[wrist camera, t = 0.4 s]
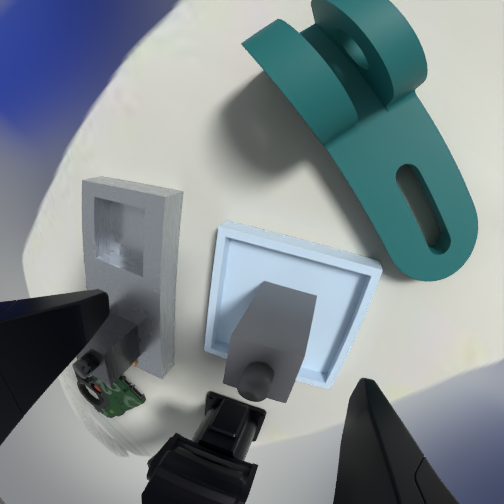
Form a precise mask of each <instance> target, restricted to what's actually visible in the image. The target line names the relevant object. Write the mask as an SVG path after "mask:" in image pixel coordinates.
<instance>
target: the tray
mask: <svg viewBox="0 0 504 504" xmlns="http://www.w3.org/2000/svg"><path fill="white" fill-rule="evenodd" d="M382 271H383V270H382V267H381V264H380V261H378V260H375V259H371V258H368V257H364V256H360V255H357V254H353V253H350V252H346V251H342V250H339V249H335V248H332V247H328V246H324V245H320V244H317V243H313V242H309V241H306V240H302V239H298V238H294V237H290V236H287V235H283V234H279V233H275V232H271V231H267V230H263V229H259V228H256V227H252V226H248V225H244V224H240V223H236V222H232V221H226V222H225V223H223V224H221V225H220V226H219V227H218V234H217V242H216V249H215V257H214V265H213V273H212V281H211V290H210V298H209V307H208V316H207V326H206V335H205V345H204V351H206V352H209V353H211V354H214V355H217V356H220V357H222V358H225V359H227V356H228V350H229V344H230V338H231V334H232V332H233V331H234V329H235V328H236V326H237V324H238V323H239V321H240V320H241V318H242V316H243V315H244V313H245V312H246V310H247V308H248V307H249V305H250V303H251V302H252V300H253V298H254V297H255V295H256V294H257V292H258V290H259V289H260V287H261V285H262V284H263V282H264V281H267V282H270V283H274V284H277V285H281V286H284V287H288V288H292V289H295V290H299V291H302V292H306V293H309V294H313V295H317V299H316V305H315V310H314V315H313V320H312V325H311V330H310V335H309V339H308V344H307V349H306V353H305V357H304V360H303V363H302V365H301V368H300V370H299V373H298V375H297V378H296V380H295V381H299V382H303V383H306V384H310V385H314V386H318V387H322V388H326V389H330V388H331V387H332V385H333V383H334V381H335V379H336V377H337V375H338V373H339V371H340V369H341V367H342V365H343V363H344V361H345V359H346V357H347V355H348V353H349V351H350V348H351V346H352V344H353V342H354V340H355V338H356V335H357V333H358V331H359V329H360V326H361V324H362V322H363V319H364V317H365V315H366V312H367V310H368V307H369V305H370V302H371V300H372V297H373V295H374V292H375V290H376V287H377V284H378V282H379V279H380V276H381V273H382Z"/></svg>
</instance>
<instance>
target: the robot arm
mask: <svg viewBox="0 0 504 504" xmlns="http://www.w3.org/2000/svg"><path fill="white" fill-rule="evenodd" d="M109 314H110V307H109V296H108V293H107V292H105V291H103V290H100V289H94V290H87V291H80V292H73V293H66V294H58V295H51V296H44V297H36V298H29V299H21V300H17V301H16V300H13V301H5V302H0V445H1V444H2V443H3V442H4V440H5V439H6V438H7V437H8V435H9V434H10V433H11V431H12V430H13V429H14V428H15V427H16V425H17V424H18V423H19V422H20V420H21V419H22V418H23V417H24V415H25V414H26V413H27V412H28V410H29V409H30V408H31V407H32V406H33V405H34V403H35V402H36V401H37V400H38V399H39V398H40V396H41V395H42V394H43V393H44V392H45V391H46V389H47V388H48V387H49V386H50V385H51V384H52V382H54V380H55V379H56V378H57V377H58V376H59V375H60V374H61V373H62V371H63V370H64V369H65V368H66V367H67V366H68V365H69V364H70V363H71V362H72V361H73V359H74V358H75V357H76V356H77V355H78V354H79V353H80V352H81V351H82V350H83V349H84V348H85V346H86V345H87V344H88V343H89V342H90V340H91V339H92V338H93V336H94V335H95V334H96V332H97V331H98V330H99V329H100V327H101V326H102V325H103V323H104V322H105V321H106V320H107V318H108V317H109ZM265 416H266V411H264V410H262V409H259V408H256V407H252V406H249V405H246V404H243V403H240V402H237V401H234V400H232V399H229V398H226V397H223V396H220V395H218V394H215V393H212V392H209V393H208V395H207V399H206V408H205V417H204V419H203V421H202V423H201V424H200V426H199V428H198V430H197V431H196V433H195V435H194V437H193V438H192V440H189V439H187V438H184V437H182V436H181V435H180V434H178V433H175V435H174V436H173V437H171V438H170V439H169V440H168V441H167V442H166V444H165V445H164V446H163V447H162V448H161V449H160V451H159V452H158V453H157V454H156V455H154V456H153V457H152V458H151V459H150V460H149V461H148V463H147V464H148V467H149V470H148V473H147V480H149V482H148V484H147V486H146V488H145V490H144V491H143V493H142V504H245V502H246V500H247V497H248V495H249V492H250V489H251V486H252V483H253V480H254V477H255V474H256V470H257V467H258V465H256V464H251V463H248V462H245V461H244V460H245V457H246V455H247V452H248V450H249V447H250V445H251V442H252V441H256V439H257V436H258V434H259V431H260V429H261V426H262V424H263V421H264V419H265ZM0 504H5V503H4V502H3V501H2V499H1V498H0ZM333 504H459V502H458V501H457V500H456V499H455V497H454V496H453V495H452V494H451V492H450V491H449V490H448V489H447V487H446V486H445V485H444V484H443V482H442V481H441V479H440V478H439V477H438V475H437V474H436V472H435V471H434V469H433V468H432V467H431V465H430V463H429V462H428V460H427V459H426V457H424V454H423V453H422V451H421V450H420V448H419V447H418V445H417V443H416V442H415V441H414V439H413V437H412V436H411V434H410V433H409V431H408V430H407V428H406V427H405V425H404V424H403V422H402V421H401V419H400V418H399V416H398V415H397V413H396V412H395V410H394V409H393V407H392V406H391V404H390V403H389V401H388V400H387V398H386V397H385V395H384V394H383V392H382V391H381V389H380V388H379V387H378V385H377V384H376V382H375V381H374V380H372V379H367V378H361V379H360V380H359V382H358V384H357V386H356V387H355V389H354V391H353V393H352V394H351V397H350V399H349V404H348V409H347V414H346V420H345V425H344V430H343V434H342V440H341V446H340V456H339V465H338V473H337V481H336V488H335V495H334V502H333Z"/></svg>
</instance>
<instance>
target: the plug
mask: <svg viewBox="0 0 504 504" xmlns="http://www.w3.org/2000/svg"><path fill="white" fill-rule="evenodd" d="M316 299H317V295H313V294H309V293H306V292H302V291H299V290H295V289H292V288H288V287H284V286H281V285H277V284H274V283H270V282H267V281H264V282H263V284H262V285H261V287H260V289H259V290H258V292H257V294H256V295H255V297H254V298H253V300H252V302H251V303H250V305H249V307H248V308H247V310H246V312H245V313H244V315H243V316H242V318H241V320H240V321H239V323H238V324H237V326H236V328H235V329H234V331H233V332H232V334H231V338H230V344H229V350H228V356H227V362H226V368H225V374H224V380H223V383H224V384H227V385H230V386H232V387H235V388H237V390H238V392H239V394H240V395H241V396H242V397H243V398H245V399H247V400H249V401H254V402H259V401H263V400H264V399H266V398H269V399H273V400H276V401H280V402H283V403H286V402H287V399H288V397H289V394H290V392H291V390H292V387H293V385H294V383H295V380H296V378H297V375H298V373H299V370H300V368H301V365H302V363H303V360H304V357H305V353H306V349H307V344H308V339H309V335H310V330H311V325H312V320H313V315H314V310H315V305H316Z"/></svg>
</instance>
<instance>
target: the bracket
mask: <svg viewBox="0 0 504 504" xmlns="http://www.w3.org/2000/svg"><path fill="white" fill-rule="evenodd" d="M311 7H312V11H313V15H314V20H315V24H314V25H312V26H310V27H308V28H307V29H305V30H303V31H302V32H300V33H298V32H297V31H296V30H295V29H294V28H293V27H291V26H290V25H289V24H287V23H286V22H284V21H283V20H281V19H277V20H275V21H274V22H272V23H271V24H269V25H268V26H266V27H265V28H263V29H262V30H260V31H259V32H257V33H256V34H254V35H253V36H251V37H250V38H248V39H247V40H246V41H244V42H243V43H241V44H242V46H243V47H244V48H245V49H246V50H247V51H248V52H249V54H250V55H251V56H252V57H253V58H254V59H255V60H256V62H257V63H258V64H259V65H260V66H261V67H262V68H263V70H264V71H265V72H266V73H267V74H268V76H269V77H270V78H271V79H272V80H273V82H274V83H275V84H276V85H277V86H278V88H279V89H280V90H281V91H282V92H283V94H284V95H285V96H286V97H287V99H288V100H289V101H290V102H291V104H292V105H293V106H294V108H295V109H296V110H297V111H298V113H299V114H300V115H301V117H302V118H303V119H304V121H305V122H306V123H307V124H308V126H309V127H310V128H311V130H312V131H313V132H314V134H315V135H316V136H317V138H318V139H319V140H320V142H321V143H322V144H323V145H324V146H325V148H326V149H327V151H328V152H329V154H330V155H331V157H332V158H333V160H334V161H335V163H336V164H337V166H338V167H339V169H340V170H341V172H342V173H343V175H344V177H345V178H346V180H347V181H348V183H349V185H350V186H351V188H352V189H353V191H354V193H355V194H356V196H357V198H358V199H359V201H360V203H361V204H362V206H363V208H364V210H365V211H366V213H367V215H368V217H369V218H370V220H371V222H372V224H373V225H374V227H375V229H376V231H377V233H378V235H379V236H380V238H381V240H382V242H383V244H384V246H385V248H386V250H387V252H388V254H389V256H390V257H391V259H392V261H393V262H394V264H395V265H396V266H397V267H398V269H399V270H401V271H402V272H403V273H404V274H406V275H407V276H409V277H411V278H413V279H416V280H420V281H437V280H441V279H444V278H446V277H448V276H450V275H452V274H454V273H455V272H456V271H458V270H459V269H460V268H461V267H462V266H463V265H464V264H465V262H466V261H467V260H468V258H469V257H470V255H471V253H472V251H473V249H474V246H475V243H476V239H477V234H478V218H477V213H476V209H475V206H474V203H473V201H472V198H471V196H470V194H469V191H468V189H467V187H466V184H465V182H464V180H463V178H462V175H461V173H460V171H459V169H458V167H457V165H456V163H455V161H454V159H453V157H452V155H451V153H450V151H449V149H448V147H447V145H446V143H445V141H444V140H443V138H442V136H441V134H440V132H439V131H438V129H437V127H436V126H435V124H434V122H433V120H432V119H431V117H430V116H429V114H428V112H427V111H426V109H425V108H424V106H423V104H422V103H421V101H420V100H419V98H418V97H417V95H416V93H415V89H416V88H417V87H418V86H420V85H421V84H422V83H423V82H424V81H425V80H426V77H427V62H426V58H425V54H424V51H423V48H422V46H421V44H420V41H419V39H418V37H417V36H416V34H415V32H414V30H413V29H412V27H411V26H410V24H409V23H408V21H407V20H406V18H405V17H404V16H403V15H402V13H401V12H400V11H399V10H398V9H397V8H396V7H395V6H394V5H393V4H392V3H391V2H390V1H389V0H312V1H311ZM404 164H407V165H408V166H409V167H410V168H411V170H412V171H413V173H414V175H415V177H416V179H417V181H418V183H419V185H420V187H421V188H422V190H423V192H424V194H425V196H426V198H427V201H428V203H429V205H430V207H431V209H432V211H433V213H434V215H435V218H436V220H437V222H438V224H439V227H440V229H441V236H440V239H439V240H438V242H437V243H435V244H433V245H427V243H426V241H425V238H424V236H423V234H422V232H421V230H420V227H419V225H418V223H417V221H416V219H415V217H414V215H413V213H412V211H411V209H410V207H409V205H408V203H407V201H406V199H405V197H404V196H403V194H402V192H401V190H400V188H399V186H398V185H397V182H396V172H397V170H398V168H399V167H400V166H402V165H404Z"/></svg>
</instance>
